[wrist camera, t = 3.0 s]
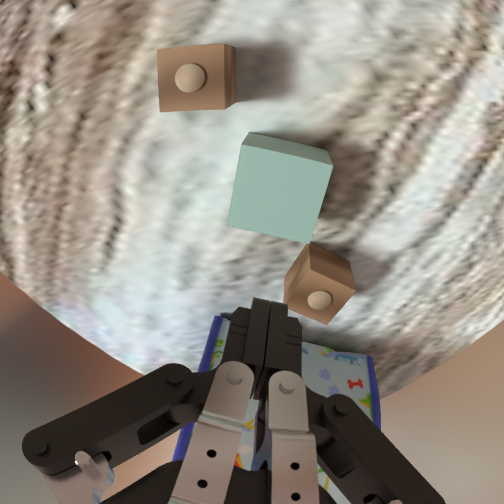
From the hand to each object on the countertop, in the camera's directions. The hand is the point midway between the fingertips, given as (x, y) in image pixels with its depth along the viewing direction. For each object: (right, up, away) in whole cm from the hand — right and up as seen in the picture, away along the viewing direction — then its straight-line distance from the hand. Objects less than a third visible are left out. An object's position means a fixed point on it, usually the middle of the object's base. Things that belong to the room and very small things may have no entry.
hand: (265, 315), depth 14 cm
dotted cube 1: (+6, +1, +20) cm, 21 cm away
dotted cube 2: (-4, +18, +11) cm, 21 cm away
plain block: (+2, +10, +15) cm, 18 cm away
